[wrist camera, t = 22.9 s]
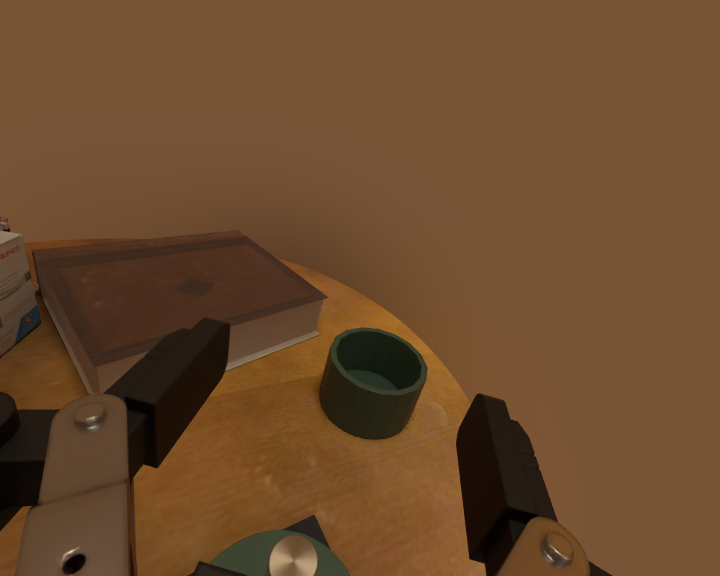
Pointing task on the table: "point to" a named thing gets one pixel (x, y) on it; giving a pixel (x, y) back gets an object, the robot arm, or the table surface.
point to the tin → (371, 382)
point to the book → (171, 299)
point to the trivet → (307, 530)
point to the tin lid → (280, 556)
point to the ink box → (15, 292)
